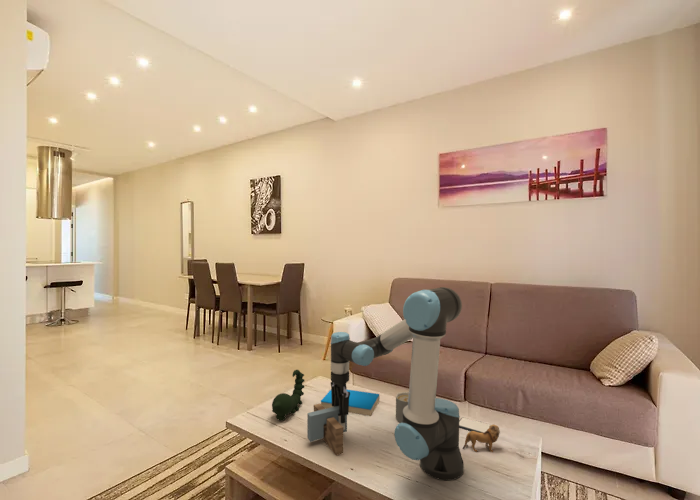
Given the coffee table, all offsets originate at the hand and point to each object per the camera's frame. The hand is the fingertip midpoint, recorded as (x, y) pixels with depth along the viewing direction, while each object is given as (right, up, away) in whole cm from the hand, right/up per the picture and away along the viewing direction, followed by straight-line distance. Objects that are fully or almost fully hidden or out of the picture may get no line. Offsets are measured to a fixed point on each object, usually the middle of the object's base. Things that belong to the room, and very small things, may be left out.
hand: (339, 427), depth 145 cm
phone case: (+59, -4, +7) cm, 59 cm away
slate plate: (-5, -2, -2) cm, 6 cm away
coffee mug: (+31, -3, +16) cm, 35 cm away
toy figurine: (-24, -3, +19) cm, 31 cm away
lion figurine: (+55, -4, -8) cm, 56 cm away
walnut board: (-5, -4, -2) cm, 7 cm away
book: (+5, -4, +29) cm, 29 cm away
